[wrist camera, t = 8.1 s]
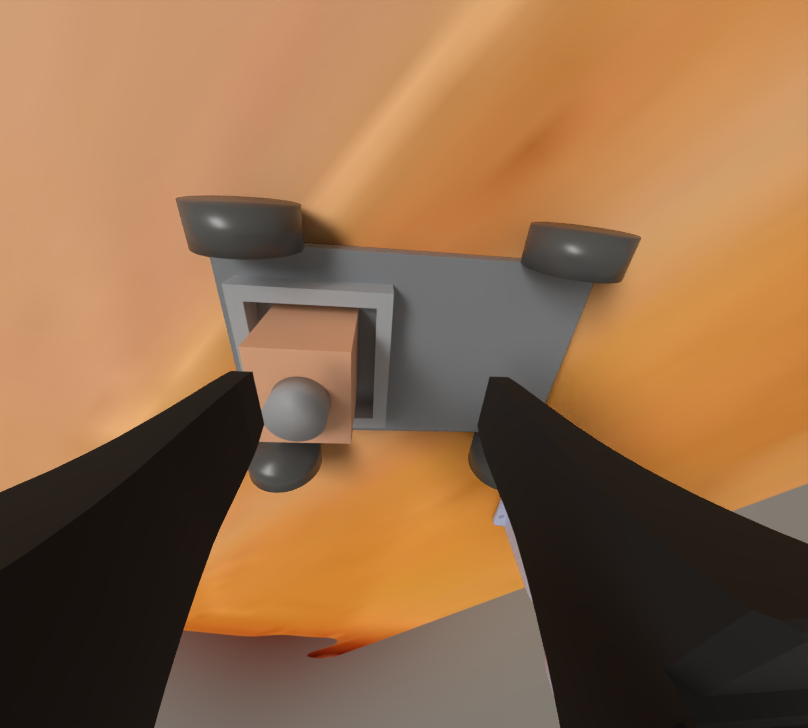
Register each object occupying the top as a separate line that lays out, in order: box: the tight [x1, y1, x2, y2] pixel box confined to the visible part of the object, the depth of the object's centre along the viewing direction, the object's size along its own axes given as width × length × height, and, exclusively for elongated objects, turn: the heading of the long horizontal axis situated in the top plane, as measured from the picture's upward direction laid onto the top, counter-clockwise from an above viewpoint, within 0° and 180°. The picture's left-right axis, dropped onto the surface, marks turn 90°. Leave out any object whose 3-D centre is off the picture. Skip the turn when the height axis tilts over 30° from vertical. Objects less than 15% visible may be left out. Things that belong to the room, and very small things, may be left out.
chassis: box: [176, 196, 641, 493], centre depth 18 cm, size 16×20×5 cm
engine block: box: [238, 303, 359, 444], centre depth 15 cm, size 5×4×6 cm
